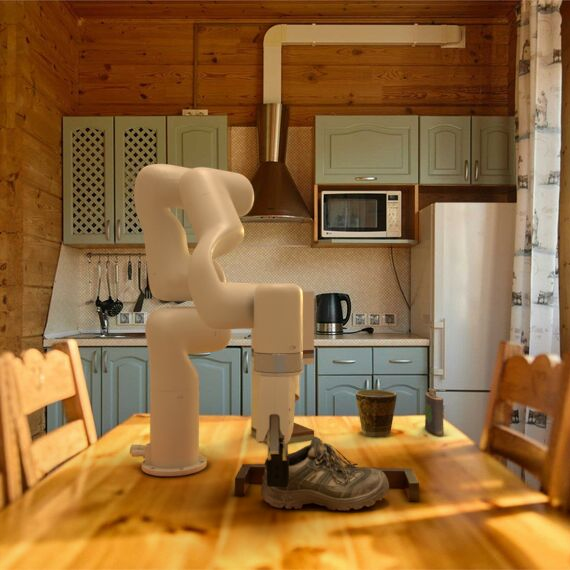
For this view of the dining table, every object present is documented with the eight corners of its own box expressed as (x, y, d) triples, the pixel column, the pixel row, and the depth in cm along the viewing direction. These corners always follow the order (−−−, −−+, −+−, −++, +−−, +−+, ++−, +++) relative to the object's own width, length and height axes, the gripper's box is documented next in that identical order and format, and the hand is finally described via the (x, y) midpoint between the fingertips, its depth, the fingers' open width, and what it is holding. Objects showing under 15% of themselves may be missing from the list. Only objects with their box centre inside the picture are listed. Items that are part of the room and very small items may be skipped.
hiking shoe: (398, 501, 83) (382, 424, 89) (262, 519, 82) (255, 439, 88) (389, 511, 90) (374, 439, 97) (264, 527, 89) (258, 454, 96)
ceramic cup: (367, 427, 140) (367, 388, 140) (403, 432, 134) (403, 392, 134) (342, 437, 130) (342, 395, 130) (380, 444, 124) (380, 400, 124)
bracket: (234, 495, 91) (234, 477, 91) (242, 480, 99) (242, 463, 99) (419, 501, 88) (419, 483, 89) (412, 485, 96) (412, 468, 96)
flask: (445, 436, 131) (444, 391, 131) (433, 436, 131) (432, 391, 131) (433, 427, 140) (432, 385, 140) (422, 427, 140) (421, 385, 140)
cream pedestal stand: (271, 445, 122) (271, 291, 123) (251, 435, 132) (251, 291, 133) (314, 439, 128) (313, 291, 129) (291, 429, 137) (291, 292, 138)
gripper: (260, 358, 90) (260, 468, 90) (245, 370, 75) (245, 502, 75) (305, 358, 90) (305, 470, 89) (299, 370, 75) (299, 504, 74)
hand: (277, 484), depth 82 cm, fingers closed
